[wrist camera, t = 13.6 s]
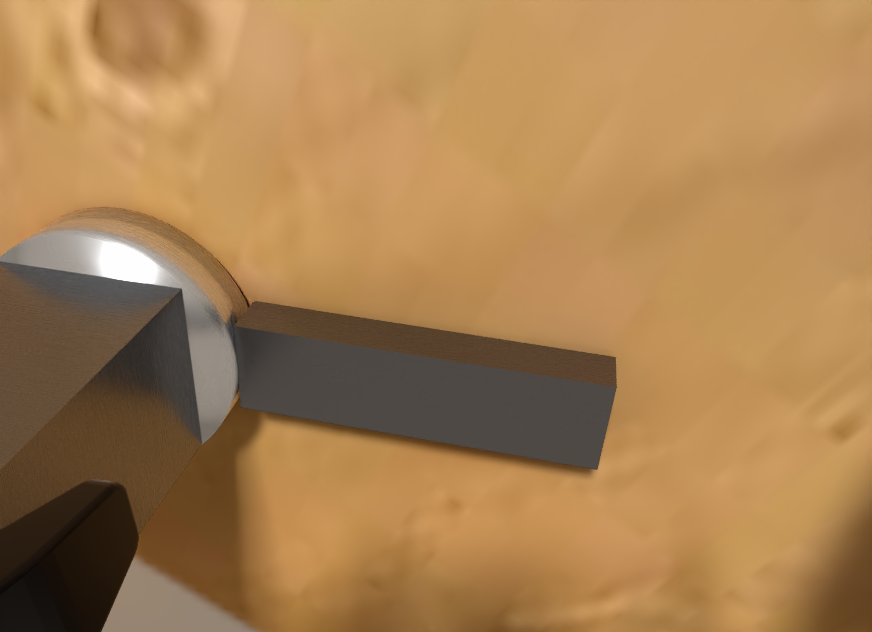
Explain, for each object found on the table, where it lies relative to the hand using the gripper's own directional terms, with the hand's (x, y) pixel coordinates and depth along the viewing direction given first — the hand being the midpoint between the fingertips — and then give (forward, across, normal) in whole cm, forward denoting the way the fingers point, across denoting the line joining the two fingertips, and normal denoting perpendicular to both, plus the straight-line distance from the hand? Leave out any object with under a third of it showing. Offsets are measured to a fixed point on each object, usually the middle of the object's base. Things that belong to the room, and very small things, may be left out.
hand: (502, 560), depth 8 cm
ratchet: (+13, +8, +6) cm, 16 cm away
